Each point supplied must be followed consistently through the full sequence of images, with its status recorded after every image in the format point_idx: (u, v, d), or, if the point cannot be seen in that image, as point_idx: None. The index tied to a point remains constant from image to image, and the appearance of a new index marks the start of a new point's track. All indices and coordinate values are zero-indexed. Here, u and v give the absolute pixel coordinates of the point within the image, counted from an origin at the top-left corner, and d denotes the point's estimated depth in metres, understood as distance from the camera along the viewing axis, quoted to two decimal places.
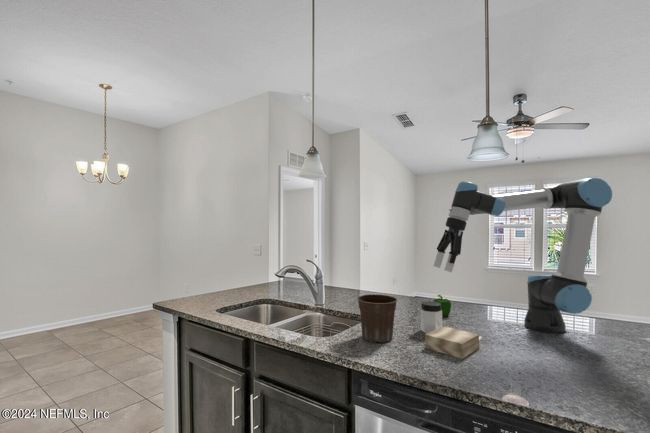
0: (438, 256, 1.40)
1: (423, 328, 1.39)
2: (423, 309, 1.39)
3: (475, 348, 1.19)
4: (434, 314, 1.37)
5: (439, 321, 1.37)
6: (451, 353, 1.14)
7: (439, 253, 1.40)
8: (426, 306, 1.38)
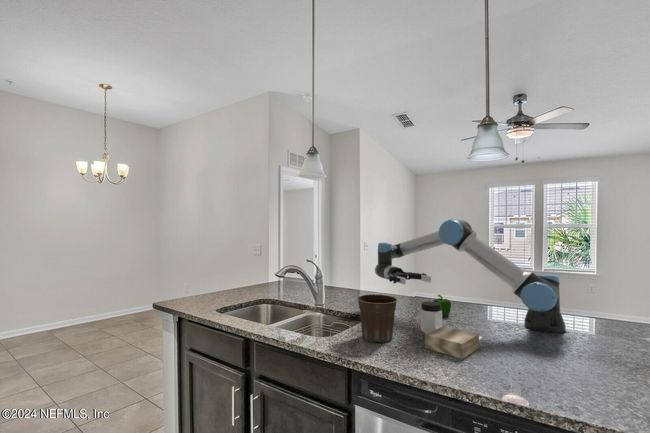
0: (423, 279, 1.56)
1: (423, 328, 1.39)
2: (423, 309, 1.39)
3: (475, 348, 1.19)
4: (434, 314, 1.37)
5: (439, 321, 1.37)
6: (451, 353, 1.14)
7: (422, 279, 1.58)
8: (426, 306, 1.38)
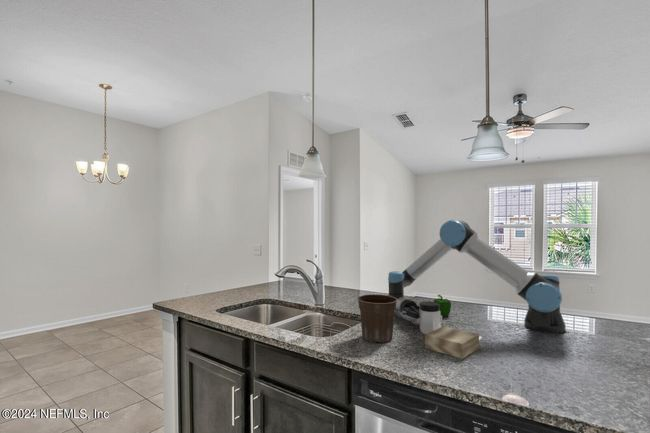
0: None
1: (421, 328, 1.39)
2: (421, 309, 1.40)
3: (475, 348, 1.19)
4: (431, 314, 1.36)
5: (436, 321, 1.37)
6: (451, 353, 1.14)
7: None
8: (424, 306, 1.38)
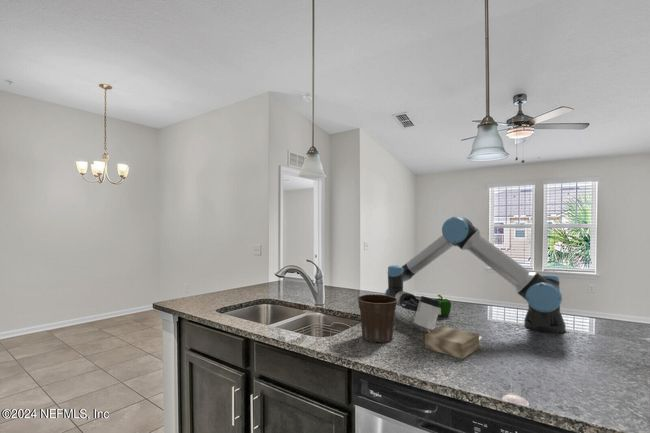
0: None
1: (416, 319, 1.39)
2: (421, 301, 1.40)
3: (475, 348, 1.19)
4: (430, 307, 1.36)
5: (433, 316, 1.36)
6: (451, 353, 1.14)
7: None
8: (425, 298, 1.38)
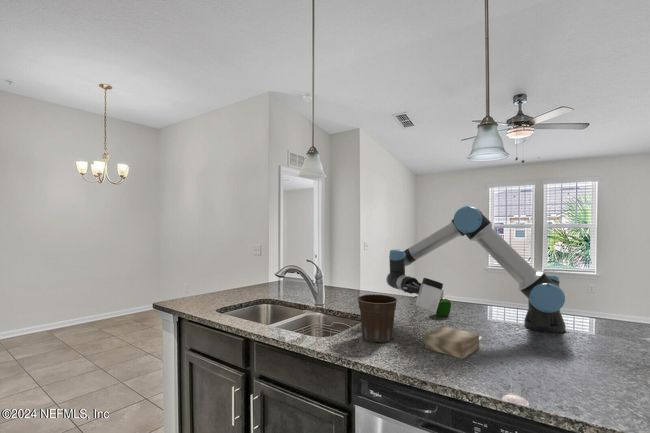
0: None
1: (417, 301, 1.34)
2: (423, 283, 1.35)
3: (475, 348, 1.19)
4: (433, 289, 1.31)
5: (435, 298, 1.32)
6: (451, 353, 1.14)
7: None
8: (427, 280, 1.34)
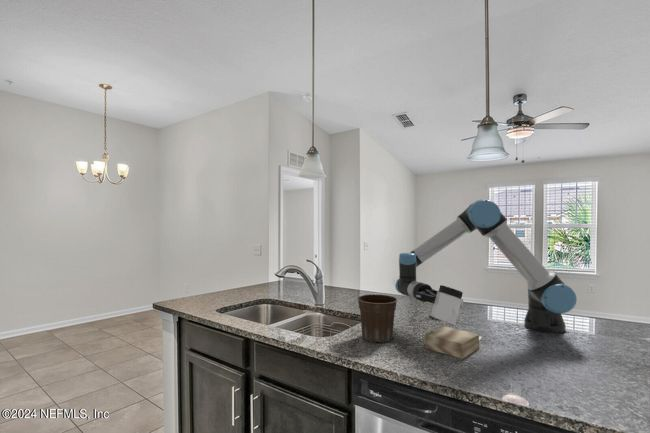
0: None
1: (434, 312, 1.20)
2: (440, 291, 1.21)
3: (475, 348, 1.19)
4: (452, 298, 1.17)
5: (455, 308, 1.17)
6: (451, 353, 1.14)
7: None
8: (445, 287, 1.19)
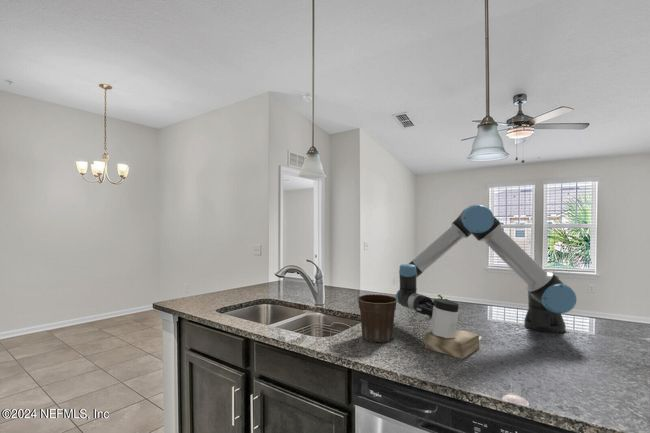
0: None
1: (433, 328, 1.19)
2: (436, 306, 1.19)
3: (475, 348, 1.19)
4: (448, 314, 1.16)
5: (453, 323, 1.16)
6: (451, 353, 1.14)
7: None
8: (440, 303, 1.18)
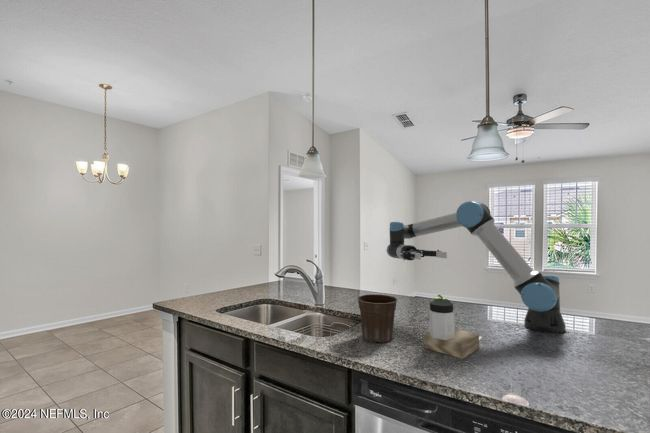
0: (438, 256, 1.52)
1: (431, 332, 1.19)
2: (431, 309, 1.19)
3: (475, 348, 1.19)
4: (443, 316, 1.16)
5: (449, 324, 1.16)
6: (451, 353, 1.14)
7: (437, 255, 1.53)
8: (434, 306, 1.18)
